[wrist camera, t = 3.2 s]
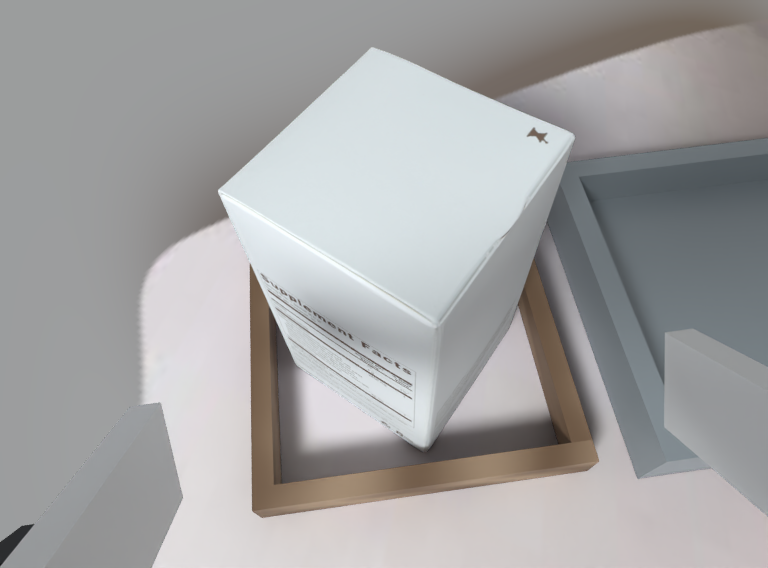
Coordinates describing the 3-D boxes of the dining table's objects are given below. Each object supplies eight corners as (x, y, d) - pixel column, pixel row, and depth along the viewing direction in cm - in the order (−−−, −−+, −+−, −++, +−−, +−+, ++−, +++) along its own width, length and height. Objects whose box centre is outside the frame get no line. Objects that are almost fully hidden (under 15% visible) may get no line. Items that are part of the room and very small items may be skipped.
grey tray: (799, 169, 37) (834, 129, 34) (975, 429, 28) (1045, 407, 25) (540, 201, 36) (552, 164, 33) (637, 478, 27) (666, 462, 24)
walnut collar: (507, 214, 36) (513, 194, 34) (587, 470, 27) (599, 461, 26) (256, 245, 35) (249, 226, 33) (262, 517, 27) (252, 511, 25)
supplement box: (384, 251, 34) (372, 35, 22) (513, 326, 32) (587, 128, 19) (288, 364, 31) (206, 185, 18) (424, 460, 28) (441, 329, 15)
